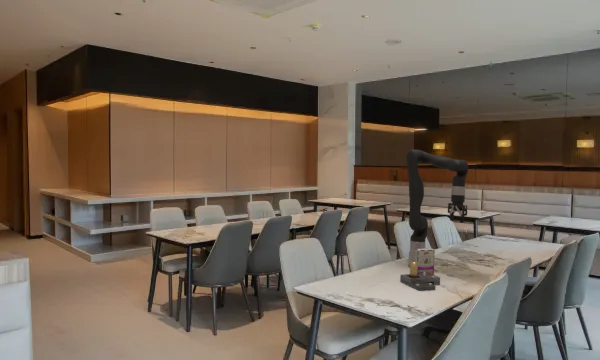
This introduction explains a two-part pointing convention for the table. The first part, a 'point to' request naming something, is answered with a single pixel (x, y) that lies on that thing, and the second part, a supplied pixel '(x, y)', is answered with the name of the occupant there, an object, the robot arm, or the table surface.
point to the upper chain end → (422, 278)
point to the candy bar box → (424, 260)
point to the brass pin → (413, 269)
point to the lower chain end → (419, 285)
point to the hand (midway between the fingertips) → (456, 221)
